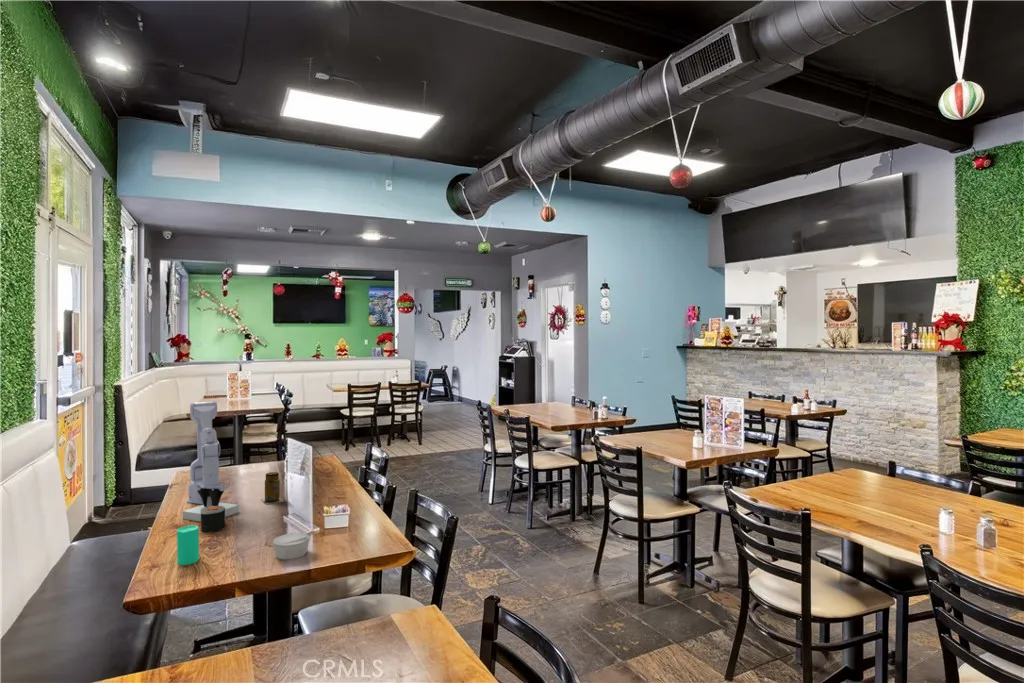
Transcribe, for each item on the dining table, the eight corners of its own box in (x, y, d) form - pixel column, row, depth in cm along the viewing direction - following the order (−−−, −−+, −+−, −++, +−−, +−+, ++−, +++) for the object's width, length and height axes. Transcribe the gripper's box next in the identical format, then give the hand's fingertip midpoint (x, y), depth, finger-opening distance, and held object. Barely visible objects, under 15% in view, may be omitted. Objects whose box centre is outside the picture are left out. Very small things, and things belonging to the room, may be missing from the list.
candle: (183, 557, 179) (182, 520, 178) (202, 557, 179) (202, 520, 179) (173, 565, 173) (173, 527, 173) (193, 564, 173) (193, 526, 173)
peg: (204, 513, 220) (204, 496, 221) (212, 511, 224) (212, 493, 224) (212, 514, 219) (212, 497, 220) (220, 511, 223) (220, 494, 223)
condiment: (278, 497, 246) (277, 470, 246) (284, 501, 240) (283, 474, 240) (260, 500, 242) (260, 473, 242) (266, 504, 235) (266, 476, 235)
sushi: (225, 523, 212) (225, 502, 211) (224, 530, 204) (224, 508, 204) (201, 526, 208) (201, 505, 208) (199, 533, 201) (199, 512, 200)
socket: (182, 518, 217) (182, 511, 217) (213, 508, 230) (213, 501, 230) (208, 522, 212) (208, 515, 212) (238, 512, 225) (238, 504, 225)
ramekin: (297, 562, 174) (297, 546, 174) (265, 560, 176) (265, 543, 176) (316, 549, 185) (316, 533, 185) (285, 547, 187) (285, 531, 187)
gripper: (188, 473, 220) (189, 507, 220) (215, 477, 215) (215, 511, 215) (204, 470, 227) (204, 502, 227) (230, 472, 221) (230, 506, 222)
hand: (211, 506), depth 221 cm, fingers closed on peg, 4 cm apart
